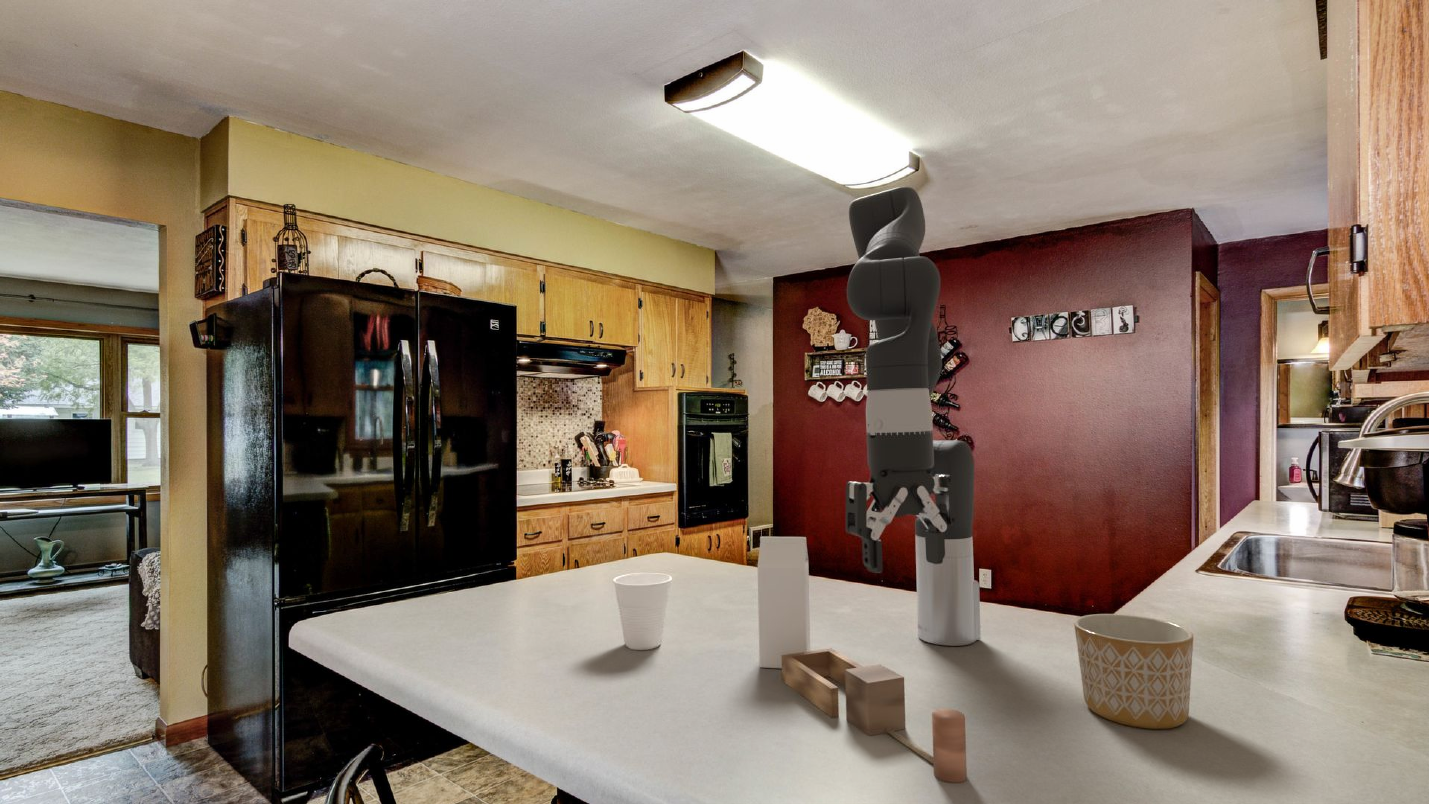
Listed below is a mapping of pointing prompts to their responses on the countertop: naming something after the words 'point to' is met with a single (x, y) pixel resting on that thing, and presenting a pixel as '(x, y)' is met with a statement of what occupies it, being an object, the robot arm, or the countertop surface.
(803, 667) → the frame
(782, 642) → the milk carton
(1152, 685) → the planter
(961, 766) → the tethered walnut block
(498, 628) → the countertop surface
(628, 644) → the cup
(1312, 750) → the countertop surface
